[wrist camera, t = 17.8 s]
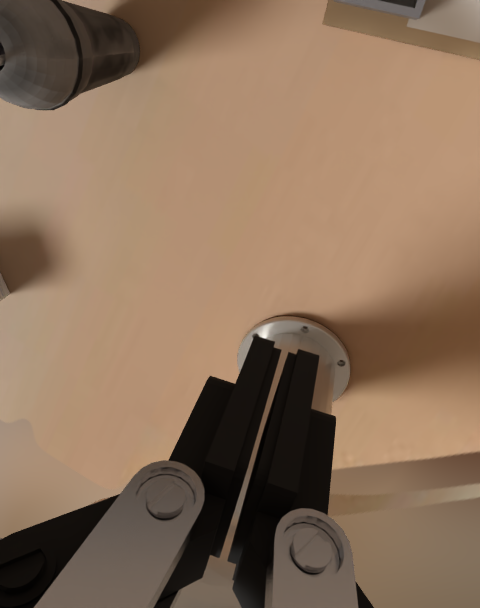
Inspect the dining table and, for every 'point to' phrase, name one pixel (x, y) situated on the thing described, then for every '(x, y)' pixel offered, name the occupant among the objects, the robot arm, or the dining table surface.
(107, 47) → the beverage cup
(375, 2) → the button housing
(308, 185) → the dining table surface
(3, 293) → the light bulb box
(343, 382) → the robot arm
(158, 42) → the dining table surface
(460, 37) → the clipboard
